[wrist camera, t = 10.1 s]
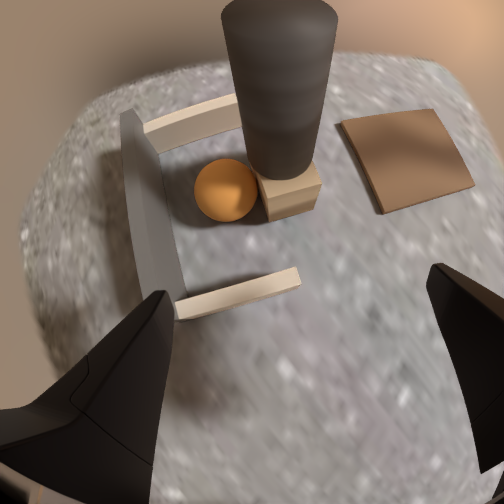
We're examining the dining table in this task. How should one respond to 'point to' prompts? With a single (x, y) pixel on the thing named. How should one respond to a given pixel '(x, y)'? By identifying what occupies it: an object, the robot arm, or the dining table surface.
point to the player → (281, 93)
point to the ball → (225, 190)
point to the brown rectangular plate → (407, 157)
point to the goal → (157, 215)
